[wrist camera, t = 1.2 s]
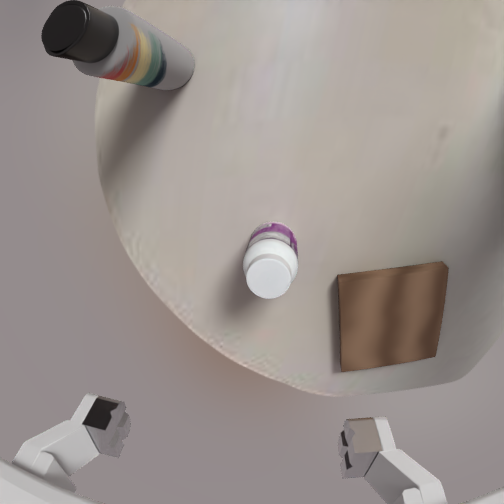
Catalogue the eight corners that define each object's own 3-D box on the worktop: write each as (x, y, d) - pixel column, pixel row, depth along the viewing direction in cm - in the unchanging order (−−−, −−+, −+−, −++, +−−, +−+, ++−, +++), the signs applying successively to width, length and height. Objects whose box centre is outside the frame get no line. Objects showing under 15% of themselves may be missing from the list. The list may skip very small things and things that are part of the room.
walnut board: (442, 261, 36) (448, 268, 34) (431, 348, 41) (435, 356, 39) (337, 274, 38) (339, 282, 36) (340, 362, 43) (341, 372, 41)
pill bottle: (292, 267, 38) (292, 310, 29) (248, 259, 39) (235, 301, 30) (300, 223, 36) (304, 257, 27) (253, 216, 37) (241, 247, 28)
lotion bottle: (145, 52, 30) (26, 11, 12) (192, 38, 29) (96, -30, 11) (152, 96, 32) (29, 84, 14) (199, 84, 31) (101, 47, 13)
